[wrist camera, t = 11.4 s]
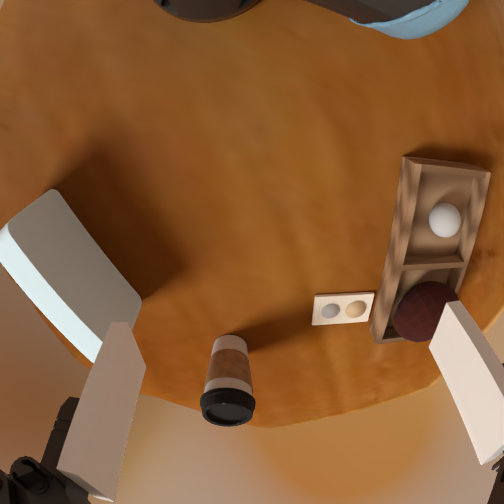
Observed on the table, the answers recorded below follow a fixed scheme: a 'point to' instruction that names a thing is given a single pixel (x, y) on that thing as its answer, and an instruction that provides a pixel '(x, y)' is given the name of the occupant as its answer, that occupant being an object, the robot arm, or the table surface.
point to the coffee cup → (228, 384)
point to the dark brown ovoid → (422, 310)
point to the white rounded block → (66, 273)
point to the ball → (444, 220)
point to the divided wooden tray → (428, 233)
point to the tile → (342, 308)
